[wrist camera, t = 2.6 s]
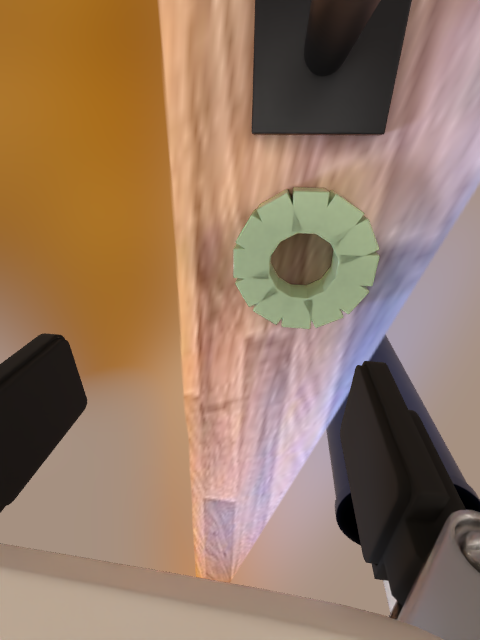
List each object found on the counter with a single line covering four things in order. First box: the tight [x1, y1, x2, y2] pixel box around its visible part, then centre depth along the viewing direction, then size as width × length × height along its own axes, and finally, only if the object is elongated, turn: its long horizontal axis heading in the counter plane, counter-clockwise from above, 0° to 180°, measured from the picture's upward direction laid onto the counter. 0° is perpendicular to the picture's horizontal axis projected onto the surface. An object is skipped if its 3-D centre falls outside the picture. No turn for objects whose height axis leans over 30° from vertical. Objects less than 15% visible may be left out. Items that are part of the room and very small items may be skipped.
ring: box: [234, 187, 380, 329], centre depth 22 cm, size 10×10×3 cm
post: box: [252, 0, 412, 135], centre depth 12 cm, size 8×8×13 cm
